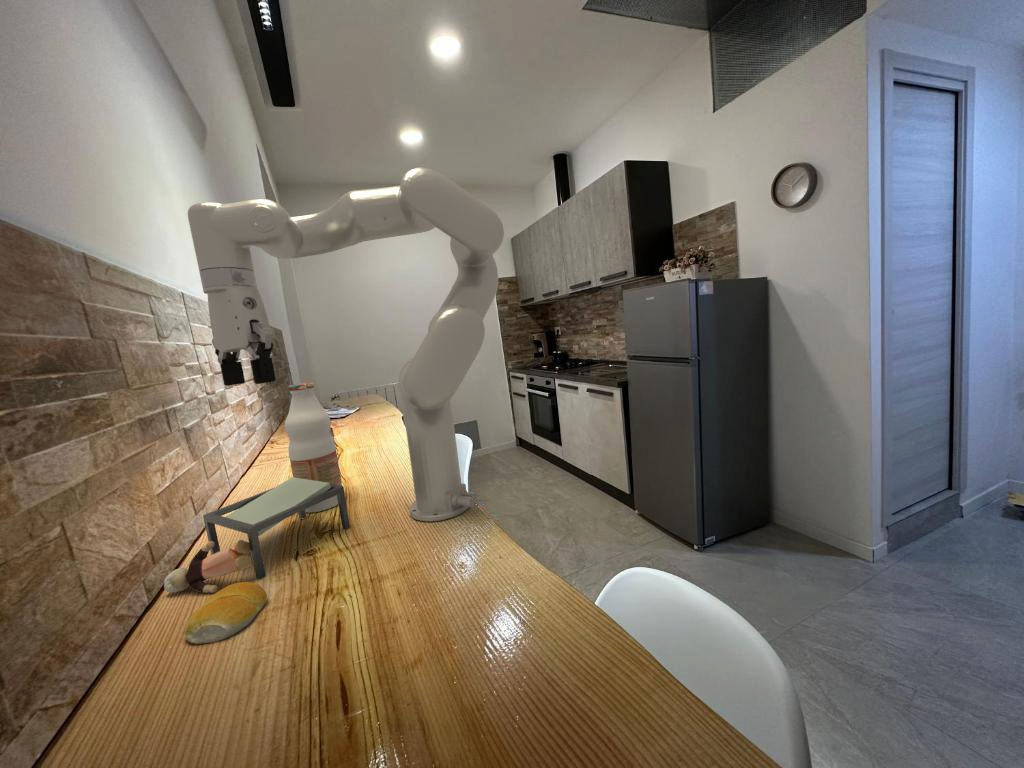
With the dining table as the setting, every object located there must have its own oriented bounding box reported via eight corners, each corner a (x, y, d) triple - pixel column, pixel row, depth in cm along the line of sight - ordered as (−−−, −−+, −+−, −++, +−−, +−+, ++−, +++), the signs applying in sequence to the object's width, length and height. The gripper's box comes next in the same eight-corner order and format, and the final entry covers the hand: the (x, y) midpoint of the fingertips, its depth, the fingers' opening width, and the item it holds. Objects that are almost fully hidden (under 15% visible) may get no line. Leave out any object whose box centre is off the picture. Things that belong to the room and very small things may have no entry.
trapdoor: (334, 496, 74) (329, 482, 74) (263, 546, 63) (256, 531, 62) (297, 489, 80) (292, 477, 80) (226, 534, 69) (219, 520, 68)
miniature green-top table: (350, 527, 76) (343, 486, 75) (259, 579, 61) (249, 528, 60) (303, 516, 83) (296, 478, 82) (212, 560, 68) (202, 515, 67)
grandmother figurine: (231, 574, 56) (150, 609, 56) (251, 578, 59) (175, 612, 59) (236, 524, 61) (162, 556, 61) (255, 530, 64) (184, 561, 64)
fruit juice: (293, 517, 83) (269, 389, 80) (306, 500, 92) (285, 384, 89) (339, 508, 85) (318, 383, 82) (347, 492, 94) (329, 379, 91)
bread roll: (276, 593, 57) (271, 568, 57) (243, 639, 49) (237, 610, 48) (216, 603, 56) (211, 578, 56) (171, 652, 48) (164, 622, 47)
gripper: (281, 276, 64) (300, 378, 66) (228, 292, 73) (246, 381, 75) (231, 272, 58) (254, 385, 60) (179, 290, 66) (200, 388, 68)
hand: (249, 383), depth 67 cm, fingers open, 9 cm apart
